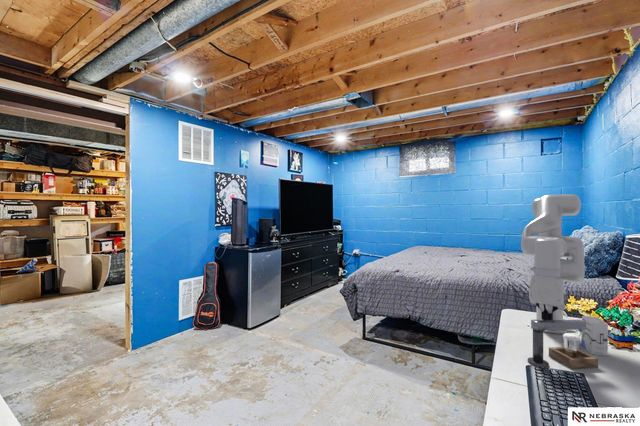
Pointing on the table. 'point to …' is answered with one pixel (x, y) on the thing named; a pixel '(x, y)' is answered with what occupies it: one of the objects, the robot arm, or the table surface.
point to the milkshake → (571, 344)
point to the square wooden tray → (574, 363)
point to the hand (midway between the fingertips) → (547, 322)
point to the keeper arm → (558, 325)
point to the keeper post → (538, 350)
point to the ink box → (595, 335)
